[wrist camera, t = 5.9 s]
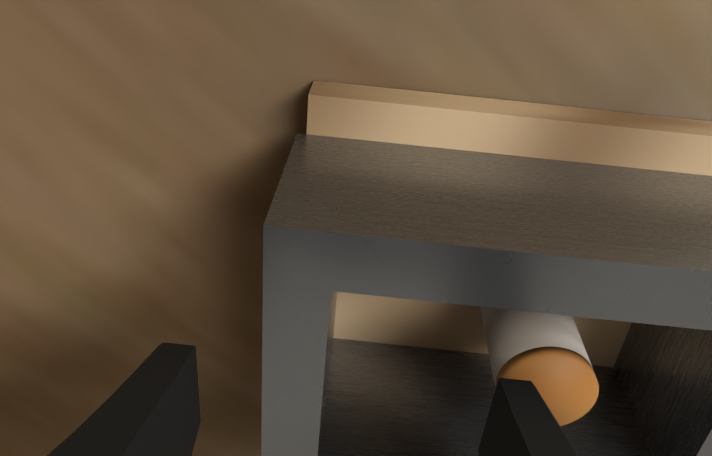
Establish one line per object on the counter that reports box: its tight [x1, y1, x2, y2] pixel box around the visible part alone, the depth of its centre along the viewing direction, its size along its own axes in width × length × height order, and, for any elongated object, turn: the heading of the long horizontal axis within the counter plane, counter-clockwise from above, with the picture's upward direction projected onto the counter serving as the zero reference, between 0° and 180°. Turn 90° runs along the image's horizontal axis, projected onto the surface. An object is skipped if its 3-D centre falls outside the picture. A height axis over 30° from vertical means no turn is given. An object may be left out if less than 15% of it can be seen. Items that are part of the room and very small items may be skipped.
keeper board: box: [306, 80, 712, 426], centre depth 14 cm, size 11×9×4 cm
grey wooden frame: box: [261, 133, 712, 456], centre depth 13 cm, size 10×7×4 cm
